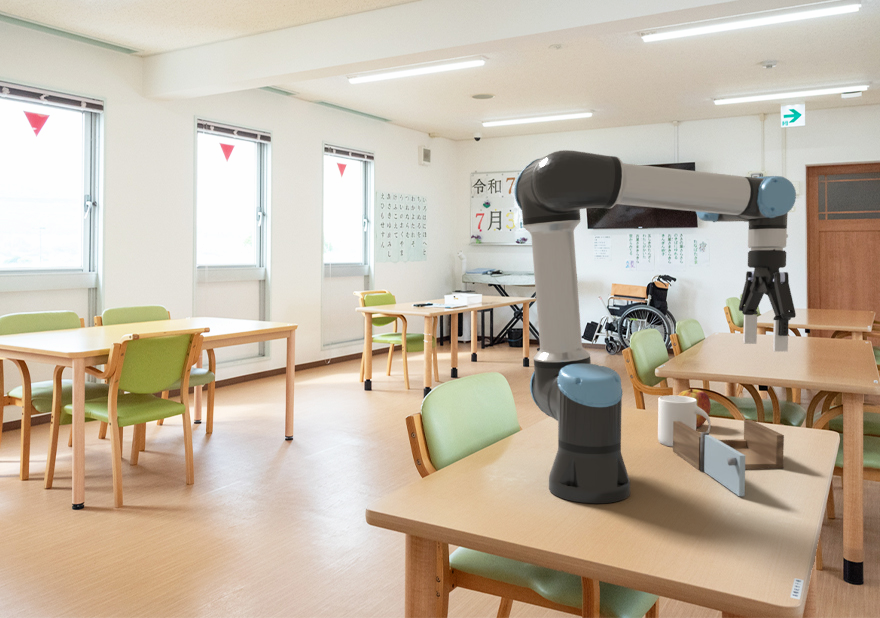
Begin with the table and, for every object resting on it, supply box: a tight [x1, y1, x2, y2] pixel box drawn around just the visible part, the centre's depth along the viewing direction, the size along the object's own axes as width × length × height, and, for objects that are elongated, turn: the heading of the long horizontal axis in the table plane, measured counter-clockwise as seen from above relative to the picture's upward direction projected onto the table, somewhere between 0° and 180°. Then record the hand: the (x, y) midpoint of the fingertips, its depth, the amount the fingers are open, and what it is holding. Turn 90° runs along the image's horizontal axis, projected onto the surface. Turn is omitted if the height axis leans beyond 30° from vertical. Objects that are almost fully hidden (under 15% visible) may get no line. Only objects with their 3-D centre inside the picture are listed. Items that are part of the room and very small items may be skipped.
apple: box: [677, 388, 712, 428], centre depth 181 cm, size 9×9×10 cm
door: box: [703, 434, 746, 497], centre depth 134 cm, size 15×2×8 cm, turn 3°
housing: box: [672, 419, 785, 473], centre depth 150 cm, size 18×16×8 cm
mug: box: [657, 395, 712, 448], centre depth 164 cm, size 9×12×11 cm
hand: (764, 347), depth 151 cm, fingers open, 13 cm apart
